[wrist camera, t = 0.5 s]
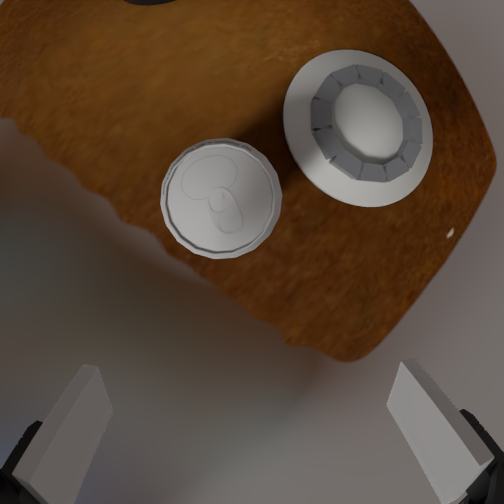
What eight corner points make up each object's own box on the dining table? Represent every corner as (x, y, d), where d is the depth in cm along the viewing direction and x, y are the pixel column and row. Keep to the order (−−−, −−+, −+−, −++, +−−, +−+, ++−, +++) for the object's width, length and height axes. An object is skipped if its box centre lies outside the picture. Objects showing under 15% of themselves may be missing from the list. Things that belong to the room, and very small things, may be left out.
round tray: (281, 43, 28) (285, 33, 26) (421, 71, 29) (432, 66, 26) (281, 202, 33) (285, 204, 30) (426, 210, 34) (438, 213, 31)
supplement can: (180, 176, 32) (134, 170, 17) (247, 145, 31) (254, 114, 17) (209, 240, 33) (187, 283, 19) (276, 211, 33) (305, 232, 18)
